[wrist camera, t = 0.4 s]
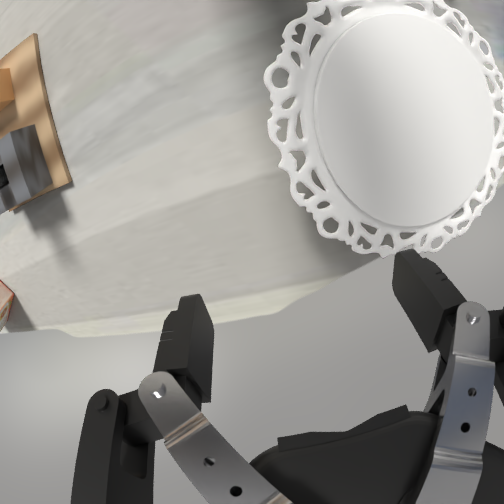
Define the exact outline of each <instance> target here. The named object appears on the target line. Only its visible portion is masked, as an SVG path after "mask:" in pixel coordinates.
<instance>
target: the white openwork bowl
mask: <svg viewBox="0 0 504 504" xmlns="http://www.w3.org/2000/svg"><path fill="white" fill-rule="evenodd" d="M408 3H418V4H421V5H422V6H423V8H424V11H420V10H417V9H415V8H412V7H409V6H406V4H408ZM433 4H435V5H436V6H437V7H438V8H440V9H443V10H446V13H445V14H443V15H442V16H441V17H437V16H435V14H434V13H433V8H434V7H433ZM306 5H307V13H306V14H305V15H304V16H302V17H301V18H297V19H294V20H293V21H291V22H289V24H288V25H287V26H286V28H285V30H284V32H283V34H282V37H283V38H284V40H285V43H284V44H282V45H281V48H282V53H280V54H279V55H277V59H276V61H275V62H274V63H272V64H271V65H269V66H268V67H267V69H266V70H265V73H264V83H265V86H266V87H267V89H268V90H269V91H270V94H271V95H270V100H271V101H272V102H273V107H272V108H271V109H270V112H271V113H272V117H271V118H270V119H268V121H267V125H268V134H269V137H270V139H271V141H272V142H273V143H274V144H275V145H276V146H277V147H278V148H279V150H280V152H281V156H282V158H281V161H280V163H279V165H278V168H280V169H282V170H284V171H286V172H287V173H288V174H289V176H290V180H291V185H290V193H291V195H292V197H293V199H294V200H295V202H296V203H297V204H298V205H299V206H300V207H303V206H304V207H306V211H307V212H309V213H312V214H313V219H314V220H315V221H316V222H317V230H318V232H319V234H320V235H321V236H323V237H325V238H337V239H338V240H339V241H346V244H347V245H351V246H352V251H355V252H356V253H359V254H363V255H364V254H369V253H379V254H380V255H381V258H385V257H387V256H388V255H395V254H396V253H397V252H400V250H401V249H402V248H405V247H407V246H409V245H412V244H413V249H414V250H416V252H417V253H418V254H420V253H421V252H425V253H426V252H428V251H429V252H431V253H436V252H438V251H440V250H441V249H442V248H443V247H444V245H445V244H446V243H448V242H449V241H450V240H451V239H452V238H455V237H456V236H457V235H458V236H461V235H462V234H464V233H465V232H466V231H467V230H468V228H469V227H470V225H471V223H472V221H473V219H475V218H476V217H480V216H481V212H482V209H483V207H484V206H485V205H486V204H487V203H489V202H490V201H491V200H492V198H493V197H494V194H495V193H496V186H497V185H498V181H499V179H500V178H501V175H502V174H503V173H504V167H503V169H501V170H500V169H499V167H498V164H499V161H500V157H502V156H503V157H504V145H503V147H501V148H498V149H497V145H498V144H499V143H501V142H504V135H503V131H504V114H503V113H501V112H499V111H497V110H496V109H495V102H496V101H499V100H500V99H501V98H502V100H501V102H502V103H501V107H502V109H503V112H504V79H503V76H502V74H501V73H500V72H499V71H498V67H497V66H496V65H495V60H494V58H493V56H492V51H491V48H490V45H489V44H488V42H487V41H486V40H485V39H484V38H482V37H480V35H479V34H478V33H477V32H476V31H475V30H474V29H473V26H471V25H470V24H469V21H468V19H467V18H466V17H465V15H464V14H463V13H461V12H460V11H459V10H457V9H454V8H451V7H449V6H448V5H446V4H445V2H444V1H443V0H337V1H334V0H321V1H319V2H308V3H306ZM347 6H360V8H358V9H356V10H354V11H352V12H350V13H348V14H347V15H345V16H343V17H342V15H341V11H342V9H343V8H344V7H347ZM326 7H328V9H329V11H330V14H331V22H330V23H328V25H323V24H322V23H321V22H318V21H315V20H314V18H316V17H318V16H320V15H323V14H324V11H325V10H326ZM454 13H457V14H458V15H459V16H460V19H461V21H464V27H462V26H461V24H460V23H459V21H458V20H457V18H456V17H455V16H454ZM449 22H450V23H452V24H453V25H454V26H455V27H456V28H457V30H458V32H459V34H460V37H459V36H458V35H457V34H456V33H455V32H454V31H452V30H451V29H450V28H449V27H448V26H447V23H449ZM300 23H303V24H305V26H306V30H305V33H304V36H303V40H302V43H301V44H299V43H297V42H295V41H293V39H292V35H297V32H296V31H295V27H296V26H297V25H298V24H300ZM470 32H471V33H472V42H471V44H470V42H469V34H470ZM315 34H320V35H321V38H320V39H319V41H318V42H317V44H316V45H315V47H314V49H313V51H312V53H311V55H309V50H310V46H311V41H312V38H313V37H314V35H315ZM481 41H482V42H484V43H485V45H486V46H487V48H488V52H489V53H488V55H484V53H483V51H482V50H481V48H480V42H481ZM293 51H294V52H296V53H298V55H299V57H300V67H299V66H298V65H297V64H296V63H295V61H294V60H293V59H292V56H291V52H293ZM484 63H486V64H490V65H491V66H492V67H493V69H492V70H488V69H487V68H486V67H485V66H484ZM277 68H283V69H285V70H287V72H288V73H289V78H288V79H287V81H288V85H287V86H286V87H284V88H277V87H275V86H274V85H273V83H272V74H273V72H274V70H276V69H277ZM485 76H486V77H487V78H488V79H489V81H490V82H491V84H492V85H493V88H494V92H493V93H492V94H491V93H490V91H489V87H488V83H487V80H486V77H485ZM495 76H498V77H499V82H501V84H502V90H500V87H499V86H498V84H497V82H496V80H495ZM293 96H294V97H295V99H294V102H293V104H292V106H291V107H290V108H289V109H283V108H282V104H283V103H284V102H285V101H286V100H288V99H289V98H291V97H293ZM299 112H300V121H301V129H302V134H303V138H302V139H299V138H298V136H297V134H296V125H297V118H298V114H299ZM495 118H496V119H497V120H498V122H499V127H498V130H497V133H496V135H495V128H494V119H495ZM280 119H288V127H287V139H286V141H285V142H281V141H279V139H278V138H277V132H278V131H279V130H280V129H281V127H279V126H278V125H277V122H278V121H279V120H280ZM292 150H293V151H303V152H304V155H305V157H306V160H305V163H304V165H303V166H302V167H301V169H300V170H299V171H296V170H297V160H296V159H295V158H294V157H293V155H292V154H291V153H290V151H292ZM491 169H492V170H493V172H494V175H495V180H493V179H492V176H491ZM313 170H315V172H316V174H317V176H318V178H319V180H320V182H321V184H322V185H323V187H324V188H325V190H326V191H324V190H322V189H321V188H320V187H319V186H317V185H316V184H315V183H314V182H313V180H312V177H311V173H312V171H313ZM483 178H484V185H483V189H482V191H480V192H477V188H478V186H479V184H480V183H481V181H482V180H483ZM298 182H302V183H303V184H304V185H305V186H306V187H307V188H308V189H310V190H311V192H312V193H313V194H314V196H312V197H310V198H309V199H304V196H305V193H298V191H297V189H296V185H297V183H298ZM489 186H491V188H492V192H490V197H489V198H488V199H487V200H486V196H487V192H488V189H489ZM472 199H475V200H476V201H478V202H480V205H478V206H477V207H475V208H474V211H473V212H472V211H471V208H470V206H469V204H470V201H471V200H472ZM323 201H327V202H329V203H330V205H329V206H327V207H326V208H322V209H318V208H317V205H318V204H319V203H320V202H323ZM461 208H463V214H462V215H461V216H460V217H458V218H453V219H450V218H451V217H452V216H453V215H454V214H455V213H456V212H457V211H458V210H459V209H461ZM472 213H473V214H472ZM328 218H333V219H334V220H335V221H337V222H338V224H339V226H338V229H337V231H336V232H334V233H329V232H327V231H326V230H325V229H324V228H323V223H324V221H325V220H326V219H328ZM467 220H468V224H467V226H466V227H462V228H461V230H458V227H457V226H458V225H459V224H460V223H462V222H466V221H467ZM349 221H350V222H351V223H352V225H353V229H354V231H353V234H352V236H349V233H348V226H349ZM361 223H364V224H366V225H369V226H372V227H375V228H376V229H377V232H376V233H375V234H370V233H368V232H367V231H366V229H365V228H363V227H362V225H361ZM444 226H449V227H451V228H452V233H451V234H450V233H448V232H447V231H446V230H445V229H444ZM403 232H416V233H415V234H414V235H413V236H411V237H410V238H408V239H401V237H400V233H403ZM386 234H390V235H391V237H392V240H393V245H394V246H393V248H392V247H390V246H389V245H384V246H382V245H381V246H380V244H381V243H382V241H383V239H384V235H386ZM424 235H426V236H425V241H424V243H423V245H422V246H420V243H421V239H422V238H423V236H424ZM360 236H362V237H364V238H365V239H366V240H367V241H368V242H369V243H371V245H372V246H371V248H370V249H363V244H361V245H357V241H358V239H359V238H360ZM439 237H441V238H442V244H441V245H440V246H439V247H438V248H434V249H433V248H432V246H431V245H432V242H433V240H434V239H437V238H439Z"/></svg>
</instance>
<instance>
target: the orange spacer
mask: <svg viewBox="0 0 504 504" xmlns="http://www.w3.org/2000/svg"><path fill="white" fill-rule="evenodd" d="M14 99H15V98H14V92H13V87H12V81H11V74H10V68H3V69H0V111H1V110H2V109H3V108H4V107H6V106H7V105H8V104H9V103H11V102H12V101H13V100H14Z"/></svg>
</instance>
